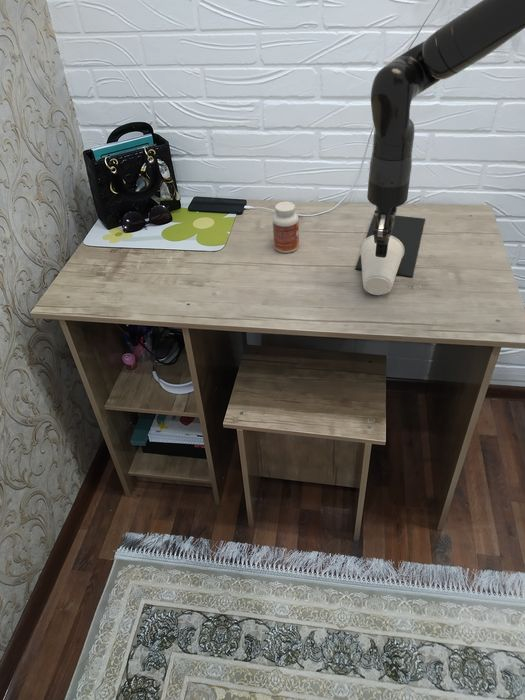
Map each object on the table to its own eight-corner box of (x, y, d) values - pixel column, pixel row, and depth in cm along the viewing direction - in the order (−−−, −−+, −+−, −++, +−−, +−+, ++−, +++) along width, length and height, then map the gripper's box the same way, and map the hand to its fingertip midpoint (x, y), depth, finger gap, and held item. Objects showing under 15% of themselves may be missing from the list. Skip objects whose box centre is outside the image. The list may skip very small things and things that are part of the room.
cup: (407, 276, 117) (410, 239, 123) (360, 265, 118) (365, 229, 124) (393, 306, 125) (396, 269, 132) (349, 296, 126) (354, 260, 132)
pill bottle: (302, 251, 139) (302, 210, 131) (278, 255, 138) (276, 214, 130) (294, 238, 143) (293, 197, 136) (270, 242, 142) (268, 202, 135)
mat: (412, 277, 128) (412, 276, 128) (355, 269, 132) (355, 268, 132) (425, 219, 146) (425, 218, 146) (374, 214, 150) (374, 213, 150)
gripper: (405, 194, 100) (394, 276, 112) (414, 162, 109) (403, 240, 121) (362, 190, 102) (356, 270, 114) (375, 159, 111) (368, 236, 123)
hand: (381, 255), depth 117 cm, fingers closed
